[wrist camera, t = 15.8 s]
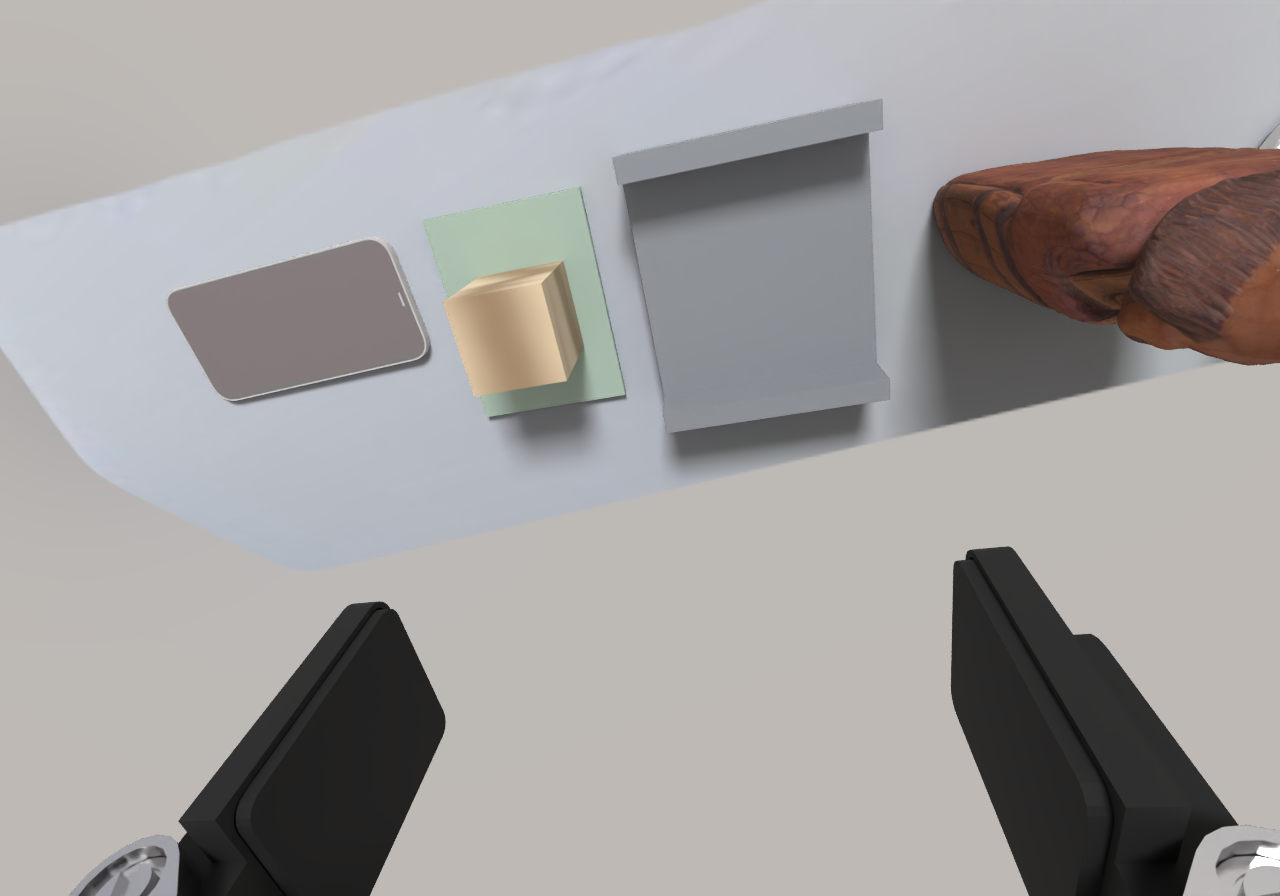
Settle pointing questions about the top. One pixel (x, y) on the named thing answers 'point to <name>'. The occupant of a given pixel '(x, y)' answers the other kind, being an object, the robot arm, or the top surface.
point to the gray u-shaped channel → (760, 267)
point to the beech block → (516, 328)
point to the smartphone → (301, 320)
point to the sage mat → (526, 241)
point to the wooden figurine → (1134, 242)
